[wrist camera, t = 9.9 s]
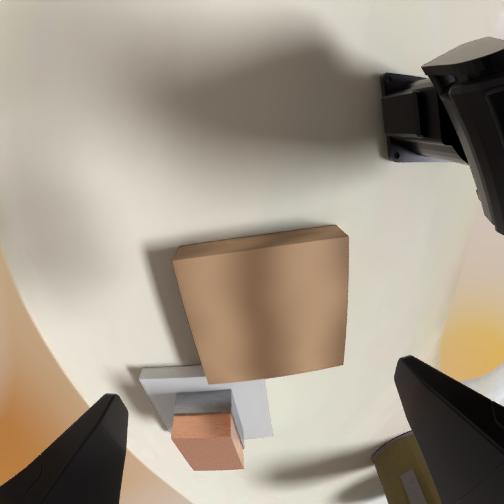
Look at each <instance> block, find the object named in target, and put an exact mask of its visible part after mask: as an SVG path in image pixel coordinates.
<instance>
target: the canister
mask: <svg viewBox="0 0 504 504" xmlns="http://www.w3.org/2000/svg"><path fill="white" fill-rule="evenodd" d="M372 462H373V463H374V464H375V467H376V470H377V472H378V475H379V478H380V481H381V484H382V486H383V489H384V492H385V495H386V498H387V501H388V504H441V501H440V498H439V496H438V493H437V490H436V488H435V485H434V482H433V480H432V477H431V475H430V472H429V470H428V467H427V465H426V462H425V460H424V457H423V455H422V453H421V450H420V448H419V446H418V443H417V441H416V439H415V436H414V434H413V432H412V431H410V432H408V433H405V434H403V435H401V436H398V437H397V438H395V439H393V440H391V441H390V442H388V443H387V444H385V445H384V446H382V447H381V448H380V449H379V450H378V451H377V452H375V454H374V455H373V457H372Z"/></svg>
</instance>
